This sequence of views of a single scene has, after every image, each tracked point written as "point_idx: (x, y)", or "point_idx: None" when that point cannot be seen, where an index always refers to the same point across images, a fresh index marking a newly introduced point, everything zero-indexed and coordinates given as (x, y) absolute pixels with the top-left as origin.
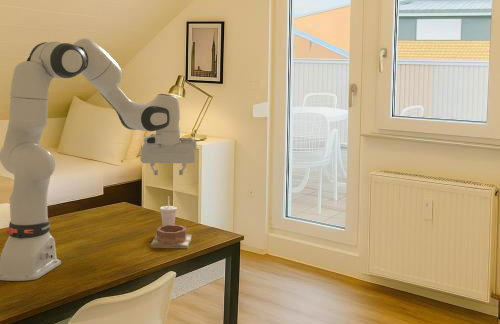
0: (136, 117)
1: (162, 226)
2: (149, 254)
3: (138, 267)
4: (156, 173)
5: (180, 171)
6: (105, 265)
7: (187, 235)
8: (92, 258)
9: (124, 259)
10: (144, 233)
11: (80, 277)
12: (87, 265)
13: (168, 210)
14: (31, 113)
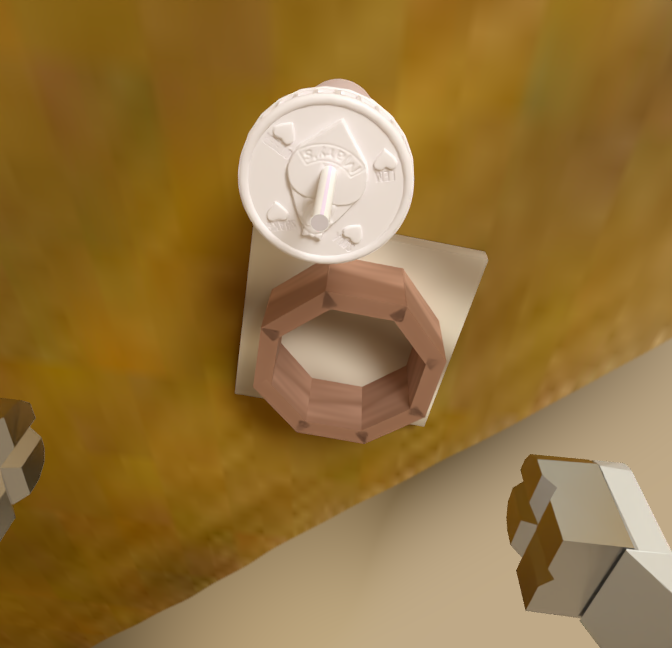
0: None
1: (286, 322)
2: (243, 459)
3: (218, 554)
4: (8, 493)
5: (553, 592)
6: (95, 528)
7: (455, 271)
8: None
9: (149, 491)
10: (161, 119)
11: (52, 588)
12: (29, 520)
13: (324, 260)
14: None
